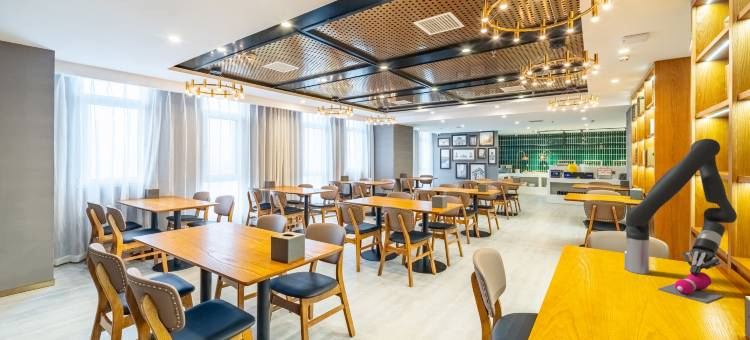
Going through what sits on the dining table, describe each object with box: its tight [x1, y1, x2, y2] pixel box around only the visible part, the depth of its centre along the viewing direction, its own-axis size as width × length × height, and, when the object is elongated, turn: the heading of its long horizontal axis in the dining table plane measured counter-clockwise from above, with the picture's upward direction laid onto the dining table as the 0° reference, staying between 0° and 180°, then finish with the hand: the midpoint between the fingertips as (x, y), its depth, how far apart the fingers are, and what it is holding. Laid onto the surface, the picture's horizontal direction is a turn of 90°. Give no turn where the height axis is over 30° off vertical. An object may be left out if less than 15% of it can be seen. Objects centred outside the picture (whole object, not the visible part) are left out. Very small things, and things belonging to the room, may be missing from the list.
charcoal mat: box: [658, 283, 724, 304], centre depth 141 cm, size 16×14×1 cm
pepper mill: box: [674, 271, 713, 294], centre depth 141 cm, size 7×7×20 cm
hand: (693, 273), depth 142 cm, fingers closed
